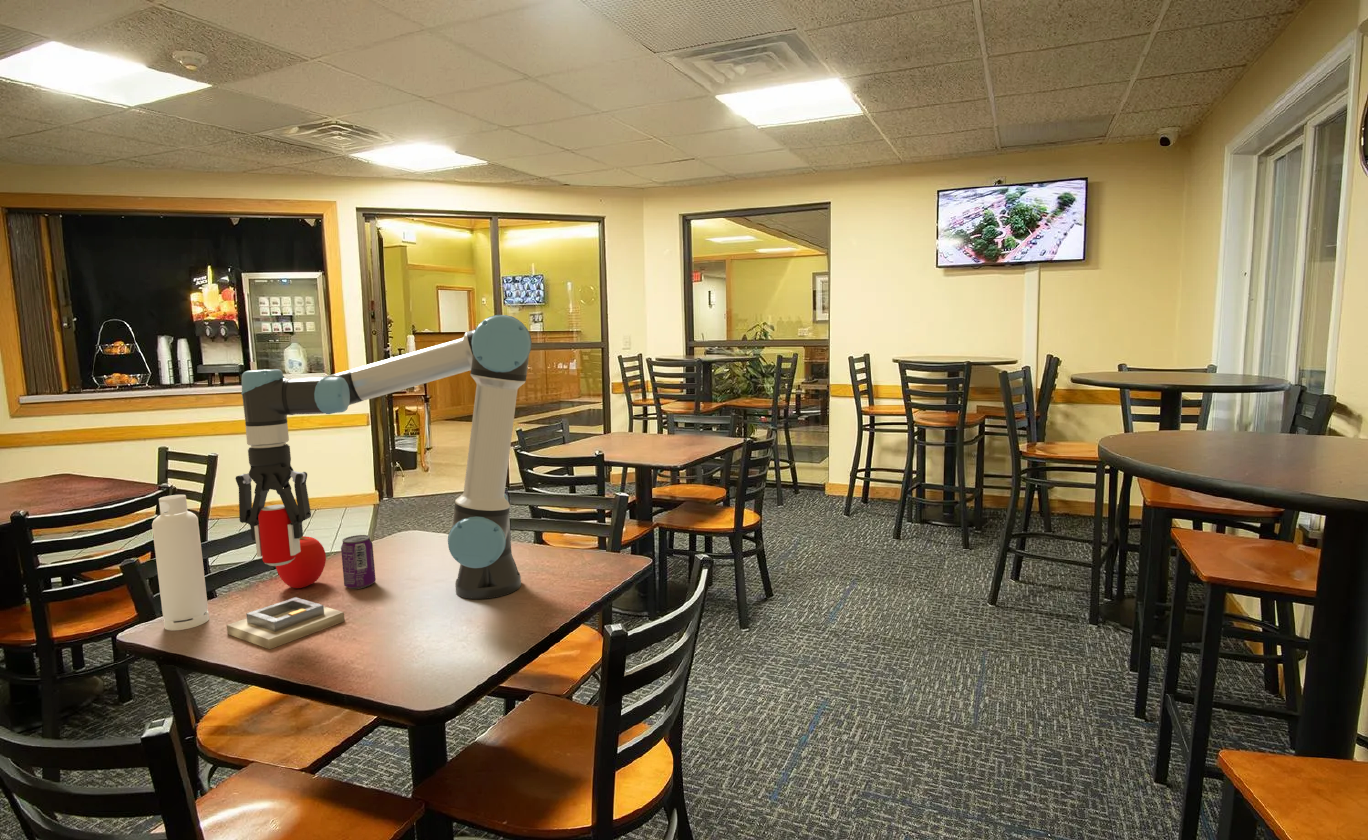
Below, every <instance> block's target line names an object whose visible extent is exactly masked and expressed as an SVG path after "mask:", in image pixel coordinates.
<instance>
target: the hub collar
mask: <svg viewBox="0 0 1368 840" xmlns="http://www.w3.org/2000/svg"><path fill="white" fill-rule="evenodd" d="M324 607H325V606H324V604H320V603H317V602H314V601H310V600H306V599H302V598H299V597H297V596H295V597H292V598H289V599H286V600H283V601H280V602H276V603H275V604H271V605H268V606H265V607H262V608H259V609H255V610H252V611H249V612H247V613H246V618H247V623H250V624H253V625H256V626H259V627H262V628H265V629H268V630H271V631H274V632H276V631H279V630H282V629H285V628H287V627H290V626H293V625H296V624H298V623H301V622H304V621H307V620H309V619H312V618H315V617H318V616H321V615H323V614H324ZM293 609H294V610H296V611H293V612H291V613H288V615H286V616H283V617H280V618H274V617H273V616H276V615H279V614H282V613H285V612H287V611H290V610H293Z"/></svg>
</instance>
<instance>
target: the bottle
mask: <svg viewBox="0 0 1368 840" xmlns="http://www.w3.org/2000/svg"><path fill="white" fill-rule="evenodd" d="M158 504H159V513H160V515H158V516H156V517H155V518H154V519H153V521H152V523H151V528H152V538H153V544H154V545H153V546H154V553H155V561H156V568H157V569H156V570H157V579H158V585H159V595H160V603H161V611H162V617H163V626H164V629H165V630H166V631H181V630H187V629H188V630H189V629H192V628H195V627H198V626H202V625H204V624H206V623H207V622H208V621H209V619H210V614H209V613H210V612H209V605H208V603H209V602H208V597H207V596H208V595H207V587H206V578H205V570H204V569H205V568H204V562H203V561H204V560H203V553H202V544H201V543H202V542H201V535H200V526H199V517H198V516H197V515H196V514H195V513H194V512H192V511H189V509H188V502H187V495H186V494H173V495H167V496H166V495H165V496H162V497H160V498H158Z"/></svg>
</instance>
